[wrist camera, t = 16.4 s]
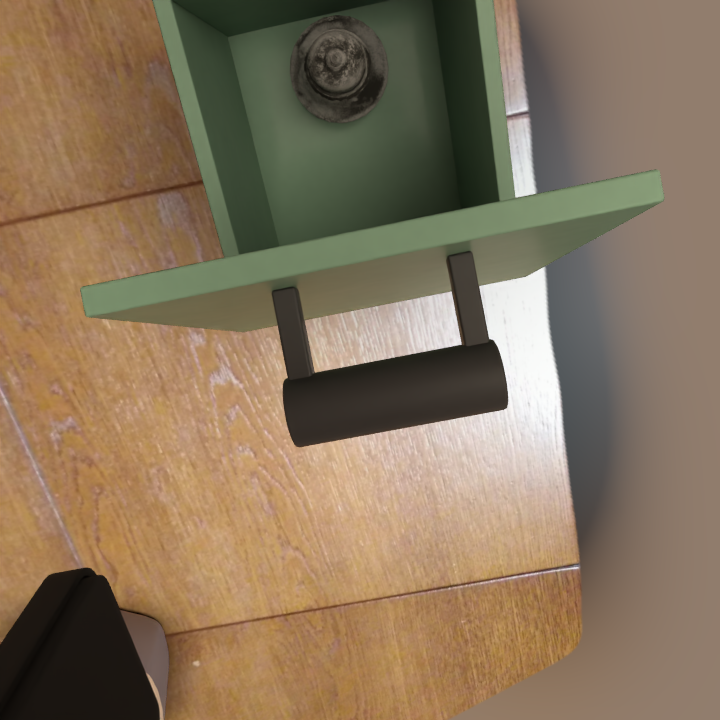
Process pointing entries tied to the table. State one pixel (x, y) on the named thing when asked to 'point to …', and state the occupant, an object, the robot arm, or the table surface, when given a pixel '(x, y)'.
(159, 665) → the bowl
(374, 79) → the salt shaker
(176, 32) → the chest
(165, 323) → the lid
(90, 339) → the table surface
